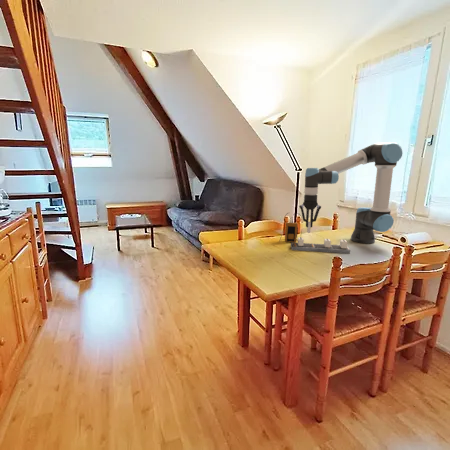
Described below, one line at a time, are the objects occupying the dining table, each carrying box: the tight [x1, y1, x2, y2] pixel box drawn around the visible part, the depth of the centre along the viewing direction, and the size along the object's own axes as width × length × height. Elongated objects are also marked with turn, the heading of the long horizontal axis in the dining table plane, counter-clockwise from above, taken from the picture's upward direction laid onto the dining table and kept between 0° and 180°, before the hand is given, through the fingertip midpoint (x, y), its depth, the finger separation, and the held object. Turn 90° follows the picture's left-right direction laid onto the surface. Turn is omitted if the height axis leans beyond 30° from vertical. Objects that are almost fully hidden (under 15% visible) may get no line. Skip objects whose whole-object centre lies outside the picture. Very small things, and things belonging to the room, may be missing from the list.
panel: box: [290, 242, 351, 254], centre depth 180 cm, size 34×10×2 cm, turn 81°
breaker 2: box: [323, 238, 332, 248], centre depth 178 cm, size 3×5×4 cm, turn 171°
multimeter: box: [279, 212, 303, 243], centre depth 196 cm, size 15×10×20 cm
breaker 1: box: [297, 236, 305, 246], centre depth 181 cm, size 3×5×4 cm, turn 171°
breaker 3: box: [339, 239, 348, 249], centre depth 177 cm, size 3×5×4 cm, turn 171°
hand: (308, 232), depth 179 cm, fingers closed
